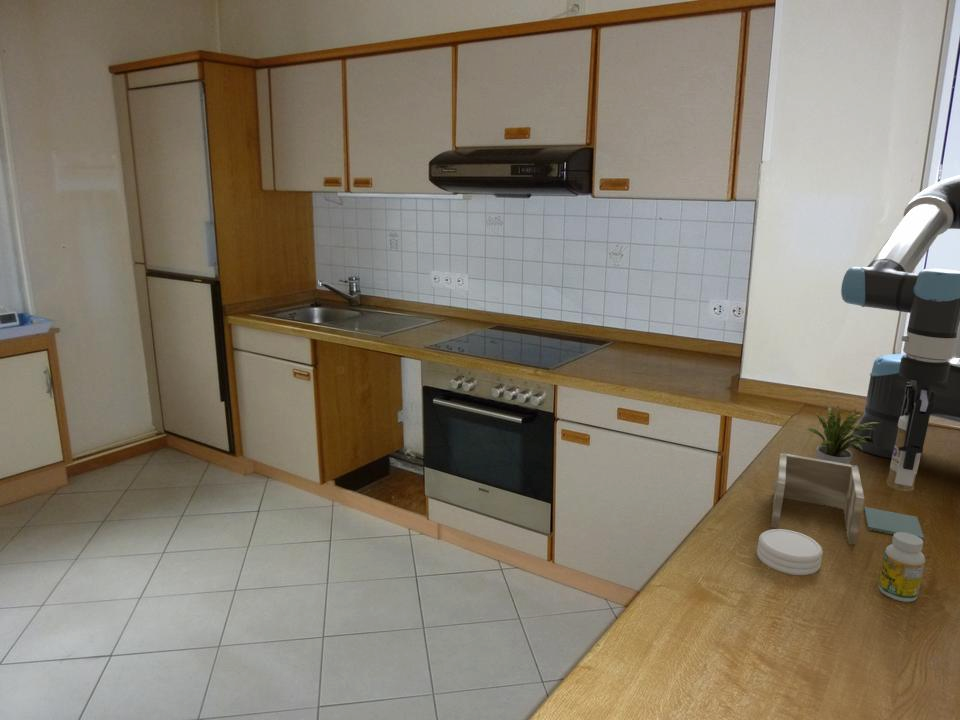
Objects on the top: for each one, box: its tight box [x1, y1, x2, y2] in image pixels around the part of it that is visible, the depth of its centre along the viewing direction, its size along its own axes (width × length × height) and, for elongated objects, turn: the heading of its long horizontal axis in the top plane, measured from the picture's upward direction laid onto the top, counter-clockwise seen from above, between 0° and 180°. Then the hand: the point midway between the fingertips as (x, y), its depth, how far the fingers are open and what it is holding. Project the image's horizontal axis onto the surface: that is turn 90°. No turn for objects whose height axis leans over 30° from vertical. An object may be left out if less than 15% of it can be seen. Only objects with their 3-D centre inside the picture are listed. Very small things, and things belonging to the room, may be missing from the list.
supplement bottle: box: [878, 532, 926, 603], centre depth 110 cm, size 5×5×10 cm
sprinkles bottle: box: [886, 415, 922, 492], centre depth 130 cm, size 5×5×14 cm
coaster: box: [756, 528, 824, 576], centre depth 120 cm, size 10×10×4 cm
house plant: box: [805, 405, 880, 465], centre depth 150 cm, size 14×14×16 cm
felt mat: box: [863, 506, 925, 542], centre depth 134 cm, size 9×9×1 cm
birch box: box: [771, 452, 865, 546], centre depth 134 cm, size 16×14×9 cm
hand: (901, 478), depth 131 cm, fingers closed on sprinkles bottle, 4 cm apart
